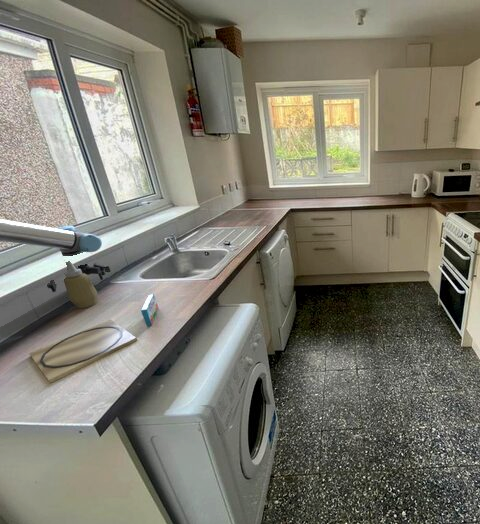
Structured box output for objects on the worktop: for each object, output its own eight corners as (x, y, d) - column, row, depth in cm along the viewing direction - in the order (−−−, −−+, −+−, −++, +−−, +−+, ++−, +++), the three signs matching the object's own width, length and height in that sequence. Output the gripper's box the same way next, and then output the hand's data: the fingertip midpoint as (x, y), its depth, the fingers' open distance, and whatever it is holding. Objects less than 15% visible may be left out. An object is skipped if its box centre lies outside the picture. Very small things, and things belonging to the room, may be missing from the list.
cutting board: (30, 355, 84) (28, 352, 83) (111, 321, 99) (110, 318, 98) (50, 383, 73) (48, 379, 73) (137, 340, 88) (136, 337, 88)
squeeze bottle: (89, 310, 107) (68, 265, 100) (68, 310, 107) (46, 266, 100) (106, 299, 115) (88, 257, 108) (86, 299, 115) (67, 258, 108)
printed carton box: (154, 309, 105) (148, 294, 103) (158, 308, 106) (153, 293, 104) (146, 326, 95) (140, 310, 93) (152, 325, 96) (146, 309, 93)
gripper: (116, 266, 131) (121, 280, 116) (40, 284, 116) (35, 303, 101) (110, 251, 128) (115, 263, 113) (31, 267, 113) (25, 284, 98)
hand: (77, 282), depth 107 cm, fingers open, 13 cm apart
